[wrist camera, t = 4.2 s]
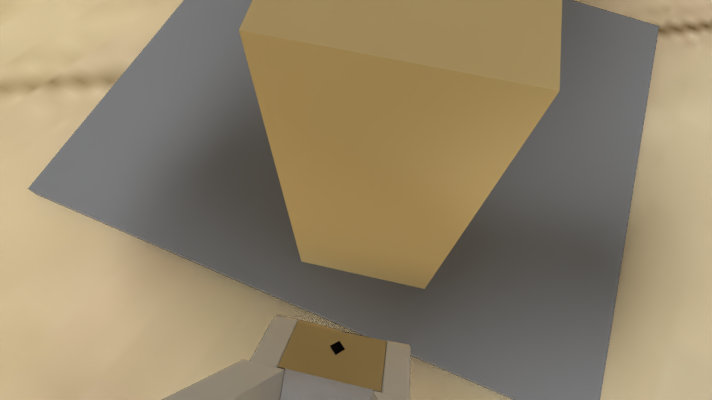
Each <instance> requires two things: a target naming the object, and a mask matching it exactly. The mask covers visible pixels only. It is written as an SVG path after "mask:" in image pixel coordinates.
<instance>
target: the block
mask: <svg viewBox="0 0 712 400" xmlns="http://www.w3.org/2000/svg"><path fill="white" fill-rule="evenodd" d="M561 25H562V0H252V2H251V4H250V7H249V9H248V11H247V13H246V15H245V18H244V20H243V22H242V24H241V26H240V29H239V33H240V36H241V40H242V44H243V47H244V51H245V55H246V59H247V62H248V66H249V70H250V73H251V77H252V81H253V84H254V88H255V92H256V96H257V99H258V103H259V107H260V110H261V114H262V118H263V122H264V125H265V129H266V133H267V136H268V140H269V144H270V147H271V151H272V155H273V159H274V162H275V166H276V170H277V173H278V177H279V181H280V185H281V188H282V192H283V196H284V199H285V203H286V207H287V210H288V214H289V218H290V222H291V225H292V229H293V233H294V236H295V240H296V244H297V248H298V251H299V255H300V259H301V262H306V263H310V264H315V265H319V266H324V267H328V268H333V269H337V270H342V271H346V272H351V273H355V274H360V275H364V276H368V277H373V278H377V279H382V280H386V281H391V282H395V283H400V284H404V285H409V286H413V287H418V288H422V289H425V288H426V286H427V285H428V283H429V282H430V280H431V279H432V277H433V276H434V274H435V273H436V272H437V270H438V269H439V267H440V266H441V264H442V263H443V261H444V260H445V258H446V257H447V255H448V254H449V252H450V251H451V250H452V248H453V247H454V245H455V244H456V242H457V241H458V239H459V238H460V236H461V235H462V233H463V232H464V230H465V229H466V227H467V226H468V225H469V223H470V222H471V220H472V219H473V217H474V216H475V214H476V213H477V211H478V210H479V208H480V207H481V205H482V204H483V203H484V201H485V200H486V198H487V197H488V195H489V194H490V192H491V191H492V189H493V188H494V186H495V185H496V183H497V182H498V181H499V179H500V178H501V176H502V175H503V173H504V172H505V170H506V169H507V167H508V166H509V164H510V163H511V161H512V160H513V159H514V157H515V156H516V154H517V153H518V151H519V150H520V148H521V147H522V145H523V144H524V142H525V141H526V139H527V138H528V137H529V135H530V134H531V132H532V131H533V129H534V128H535V126H536V125H537V123H538V122H539V120H540V119H541V117H542V116H543V115H544V113H545V112H546V110H547V109H548V107H549V106H550V104H551V103H552V101H553V100H554V98H555V97H556V95H557V94H558V92H559V91H560V60H561Z"/></svg>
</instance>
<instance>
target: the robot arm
mask: <svg viewBox="0 0 712 400" xmlns="http://www.w3.org/2000/svg"><path fill="white" fill-rule="evenodd" d="M410 355H411V347H410V346H409V345H408V344H403V343H398V342H393V341H388V340H387V341H384V340H380V339H376V338H371V337H367V336H362V335H358V334H353V333H349V332H344V331H342V330H338V329H334V328H330V327H326V326H322V325H319V324H315V323H311V322H307V321H303V320H298V319H295V318H290V317H286V316H282V315H278V314H277V315H276V316H275V317H273V319H272V321H271V323H270V325H269V327H268V328H267V330H266V332H265V334H264V336H263V338H262V339H261V341H260V343H259V345H258V347H257V349H256V351H255V352H254V354H253V356H252V358H251V360H250V361H248V360H241V361H239V362H237V363H235V364H233V365H231V366H229V367H227V368H225V369H223V370H221V371H219V372H217V373H215V374H213V375H211V376H209V377H207V378H205V379H203V380H201V381H199V382H197V383H194V384H192V385H190V386H188V387H186V388H184V389H182V390H180V391H178V392H176V393H174V394H172V395H170V396H168V397H166V398H164V399H162V400H410Z"/></svg>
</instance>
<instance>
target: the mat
mask: <svg viewBox="0 0 712 400" xmlns="http://www.w3.org/2000/svg"><path fill="white" fill-rule="evenodd" d="M251 2H252V0H184V1H183V2H182V3H181V4H180V6H179V7H178V8H177V9H176V10H175V12H174V13H173V14H172V15H171V17H170V18H169V19H168V20H167V21H166V23H165V24H164V25H163V26H162V27H161V29H160V30H159V31H158V32H157V33H156V35H155V36H154V37H153V38H152V39H151V41H150V42H149V43H148V44H147V46H146V47H145V48H144V49H143V50H142V52H141V53H140V54H139V55H138V56H137V58H136V59H135V60H134V61H133V62H132V64H131V65H130V66H129V67H128V68H127V70H126V71H125V72H124V73H123V75H122V76H121V77H120V78H119V79H118V81H117V82H116V83H115V84H114V85H113V87H112V88H111V89H110V90H109V91H108V93H107V94H106V95H105V96H104V97H103V99H102V100H101V101H100V102H99V104H98V105H97V106H96V107H95V108H94V110H93V111H92V112H91V113H90V114H89V116H88V117H87V118H86V119H85V120H84V122H83V123H82V124H81V125H80V126H79V128H78V129H77V130H76V131H75V132H74V134H73V135H72V136H71V137H70V139H69V140H68V141H67V142H66V143H65V145H64V146H63V147H62V148H61V149H60V151H59V152H58V153H57V154H56V155H55V157H54V158H53V159H52V160H51V161H50V163H49V164H48V165H47V166H46V168H45V169H44V170H43V171H42V172H41V174H40V175H39V176H38V177H37V178H36V180H35V181H34V182H33V183H32V184H31V186H30V187H29V188H28V189H29V190H31V191H32V192H33V193H35V194H37V195H39V196H41V197H44V198H46V199H48V200H51V201H53V202H55V203H58V204H60V205H62V206H65V207H67V208H69V209H72V210H74V211H76V212H79V213H81V214H83V215H86V216H88V217H90V218H93V219H95V220H97V221H99V222H102V223H104V224H106V225H109V226H111V227H113V228H116V229H118V230H120V231H123V232H125V233H127V234H130V235H132V236H134V237H137V238H139V239H141V240H144V241H146V242H148V243H151V244H153V245H155V246H158V247H160V248H162V249H165V250H167V251H169V252H171V253H174V254H176V255H178V256H181V257H183V258H185V259H188V260H190V261H192V262H195V263H197V264H199V265H202V266H204V267H206V268H209V269H211V270H213V271H216V272H218V273H220V274H223V275H225V276H227V277H230V278H232V279H234V280H237V281H239V282H241V283H244V284H246V285H248V286H250V287H253V288H255V289H257V290H260V291H262V292H264V293H267V294H269V295H271V296H274V297H276V298H278V299H281V300H283V301H285V302H288V303H290V304H292V305H295V306H297V307H299V308H302V309H304V310H306V311H309V312H311V313H313V314H316V315H318V316H320V317H322V318H325V319H327V320H329V321H332V322H334V323H336V324H339V325H341V326H343V327H346V328H348V329H350V330H353V331H355V332H357V333H360V334H362V335H364V336H367V337H371V338H376V339H380V340H384V341H387V340H388V341H393V342H398V343H403V344H408V345H409V346H410V347H411V356H413V357H415V358H418V359H420V360H422V361H425V362H427V363H429V364H432V365H434V366H436V367H439V368H441V369H443V370H446V371H448V372H450V373H453V374H455V375H457V376H460V377H462V378H464V379H467V380H469V381H471V382H473V383H476V384H478V385H480V386H483V387H485V388H487V389H490V390H492V391H494V392H497V393H499V394H501V395H504V396H506V397H508V398H511V399H513V400H600V396H601V390H602V384H603V377H604V371H605V365H606V358H607V352H608V346H609V340H610V333H611V327H612V321H613V314H614V308H615V302H616V295H617V289H618V283H619V276H620V270H621V264H622V257H623V251H624V245H625V238H626V232H627V226H628V219H629V213H630V207H631V200H632V194H633V188H634V181H635V175H636V169H637V162H638V156H639V150H640V143H641V137H642V131H643V125H644V118H645V112H646V106H647V99H648V93H649V87H650V80H651V74H652V68H653V61H654V55H655V49H656V42H657V36H658V30H659V26H657V25H654V24H650V23H647V22H644V21H640V20H637V19H633V18H630V17H627V16H623V15H620V14H617V13H613V12H610V11H607V10H603V9H600V8H596V7H593V6H590V5H586V4H583V3H580V2H576V1H573V0H562V25H561V60H560V91H559V92H558V94H557V95H556V97H555V98H554V100H553V101H552V103H551V104H550V106H549V107H548V109H547V110H546V112H545V113H544V115H543V116H542V117H541V119H540V120H539V122H538V123H537V125H536V126H535V128H534V129H533V131H532V132H531V134H530V135H529V137H528V138H527V139H526V141H525V142H524V144H523V145H522V147H521V148H520V150H519V151H518V153H517V154H516V156H515V157H514V159H513V160H512V161H511V163H510V164H509V166H508V167H507V169H506V170H505V172H504V173H503V175H502V176H501V178H500V179H499V181H498V182H497V183H496V185H495V186H494V188H493V189H492V191H491V192H490V194H489V195H488V197H487V198H486V200H485V201H484V203H483V204H482V205H481V207H480V208H479V210H478V211H477V213H476V214H475V216H474V217H473V219H472V220H471V222H470V223H469V225H468V226H467V227H466V229H465V230H464V232H463V233H462V235H461V236H460V238H459V239H458V241H457V242H456V244H455V245H454V247H453V248H452V250H451V251H450V252H449V254H448V255H447V257H446V258H445V260H444V261H443V263H442V264H441V266H440V267H439V269H438V270H437V272H436V273H435V274H434V276H433V277H432V279H431V280H430V282H429V283H428V285H427V286H426V288H425V289H422V288H418V287H413V286H409V285H404V284H400V283H395V282H391V281H386V280H382V279H377V278H373V277H368V276H364V275H360V274H355V273H351V272H346V271H342V270H337V269H333V268H328V267H324V266H319V265H315V264H310V263H306V262H301V259H300V255H299V251H298V248H297V244H296V240H295V236H294V233H293V229H292V225H291V222H290V218H289V214H288V210H287V207H286V203H285V199H284V196H283V192H282V188H281V185H280V181H279V177H278V173H277V170H276V166H275V162H274V159H273V155H272V151H271V147H270V144H269V140H268V136H267V133H266V129H265V125H264V122H263V118H262V114H261V110H260V107H259V103H258V99H257V96H256V92H255V88H254V84H253V81H252V77H251V73H250V70H249V66H248V62H247V59H246V55H245V51H244V47H243V44H242V40H241V36H240V33H239V29H240V26H241V24H242V22H243V20H244V18H245V15H246V13H247V11H248V9H249V7H250V4H251Z"/></svg>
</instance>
